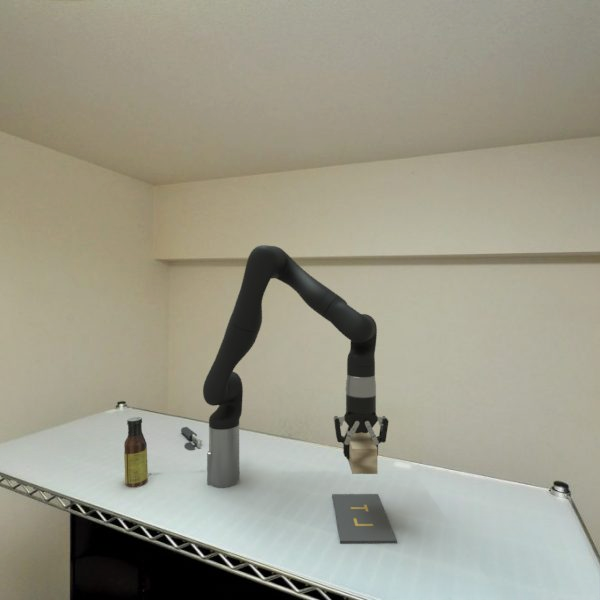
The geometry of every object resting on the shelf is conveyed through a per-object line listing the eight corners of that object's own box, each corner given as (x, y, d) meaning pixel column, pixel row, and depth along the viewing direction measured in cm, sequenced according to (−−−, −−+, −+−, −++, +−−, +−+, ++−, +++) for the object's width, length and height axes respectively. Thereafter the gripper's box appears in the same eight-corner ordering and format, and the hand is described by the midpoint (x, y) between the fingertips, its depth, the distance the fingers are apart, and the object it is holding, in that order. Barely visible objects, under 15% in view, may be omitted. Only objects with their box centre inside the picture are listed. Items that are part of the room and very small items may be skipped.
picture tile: (340, 543, 82) (340, 540, 82) (332, 496, 102) (332, 494, 102) (397, 543, 82) (397, 540, 82) (378, 496, 102) (378, 493, 102)
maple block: (352, 473, 86) (352, 448, 86) (345, 452, 98) (345, 430, 98) (377, 473, 86) (377, 448, 86) (367, 452, 98) (367, 430, 98)
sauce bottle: (152, 482, 110) (152, 417, 111) (135, 492, 105) (135, 423, 105) (136, 478, 113) (136, 414, 113) (119, 487, 108) (119, 420, 108)
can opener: (205, 452, 132) (204, 439, 132) (187, 456, 129) (187, 442, 129) (191, 436, 149) (191, 424, 149) (175, 439, 145) (175, 427, 145)
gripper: (334, 396, 89) (334, 464, 89) (392, 396, 89) (392, 464, 89) (331, 388, 96) (331, 451, 96) (385, 388, 96) (385, 451, 96)
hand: (360, 457), depth 92 cm, fingers closed on maple block, 6 cm apart
